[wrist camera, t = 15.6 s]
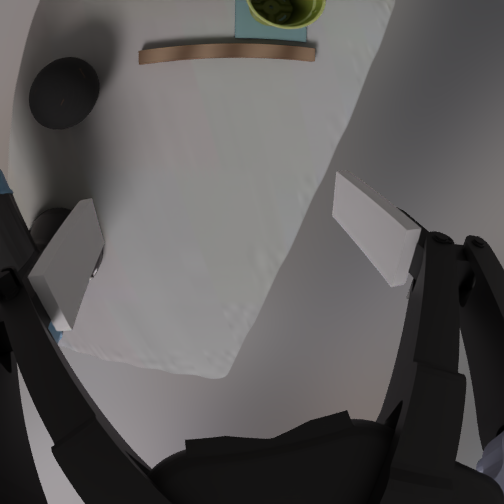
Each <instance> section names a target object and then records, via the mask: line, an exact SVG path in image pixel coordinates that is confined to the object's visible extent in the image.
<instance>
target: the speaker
mask: <svg viewBox="0 0 504 504" xmlns="http://www.w3.org/2000/svg"><path fill="white" fill-rule="evenodd" d="M98 94H99V80H98V76H97V74H96V72H95V70H94V69H93V67H92V66H91V65H90V64H89V63H87V62H86V61H84V60H82V59H79V58H74V57H66V58H61V59H58V60H55V61H53V62H52V63H50V64H48V65H47V66H46V67H44V68H43V69H42V70H41V71H40V73H39V74H38V75H37V77H36V78H35V80H34V82H33V84H32V86H31V90H30V94H29V105H30V109H31V112H32V114H33V116H34V118H35V119H36V120H37V121H38V122H39V123H40V124H41V125H43V126H45V127H47V128H50V129H66V128H69V127H72V126H74V125H76V124H78V123H79V122H81V121H82V120H83V119H84V118H85V117H86V116H87V115H88V114H89V113H90V112H91V110H92V109H93V107H94V105H95V103H96V101H97V98H98Z"/></svg>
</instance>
